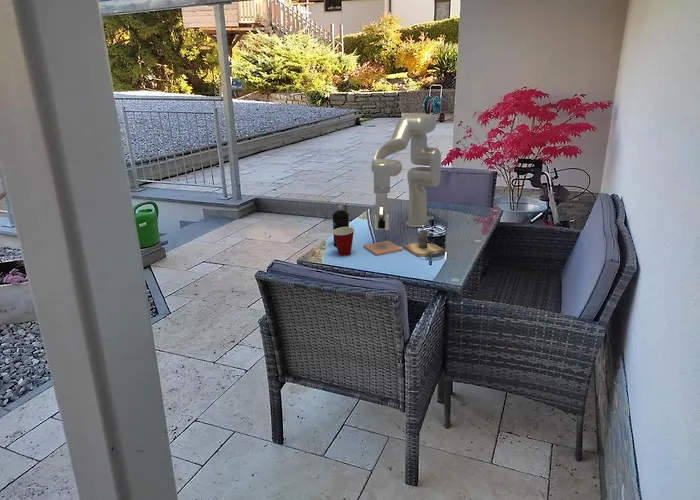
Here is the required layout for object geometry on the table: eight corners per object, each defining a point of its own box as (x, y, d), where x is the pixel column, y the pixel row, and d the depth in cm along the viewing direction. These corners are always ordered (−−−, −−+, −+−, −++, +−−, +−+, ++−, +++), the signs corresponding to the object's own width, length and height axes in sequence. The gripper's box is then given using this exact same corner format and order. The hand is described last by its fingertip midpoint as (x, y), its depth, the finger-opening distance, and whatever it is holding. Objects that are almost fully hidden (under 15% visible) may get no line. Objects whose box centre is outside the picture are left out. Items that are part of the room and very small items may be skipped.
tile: (388, 242, 254) (388, 240, 253) (402, 250, 242) (402, 248, 241) (363, 247, 248) (363, 245, 248) (376, 256, 236) (376, 253, 236)
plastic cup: (332, 250, 245) (331, 226, 241) (354, 249, 246) (353, 225, 242) (333, 258, 235) (332, 234, 231) (356, 257, 236) (355, 232, 232)
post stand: (427, 243, 250) (427, 225, 247) (443, 252, 238) (444, 232, 235) (402, 248, 245) (402, 229, 242) (418, 257, 233) (418, 237, 230)
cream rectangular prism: (375, 225, 244) (375, 213, 242) (388, 225, 244) (388, 213, 242) (374, 229, 238) (374, 217, 236) (388, 229, 237) (388, 217, 235)
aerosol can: (352, 243, 254) (350, 204, 248) (346, 248, 247) (345, 208, 240) (336, 241, 257) (335, 203, 250) (331, 247, 250) (329, 207, 243)
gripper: (374, 185, 243) (374, 221, 249) (372, 193, 227) (373, 231, 233) (390, 185, 242) (390, 221, 248) (389, 193, 226) (389, 231, 232)
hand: (381, 225), depth 241 cm, fingers closed on cream rectangular prism, 6 cm apart
